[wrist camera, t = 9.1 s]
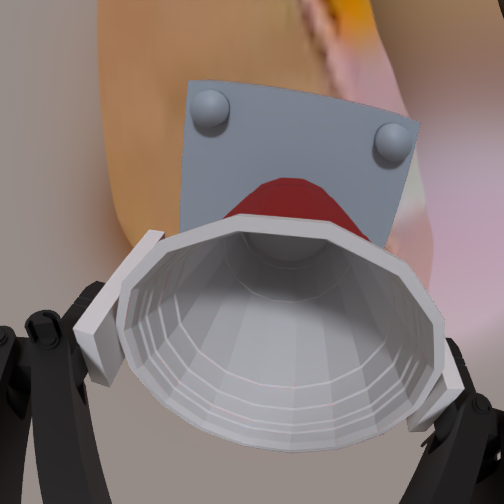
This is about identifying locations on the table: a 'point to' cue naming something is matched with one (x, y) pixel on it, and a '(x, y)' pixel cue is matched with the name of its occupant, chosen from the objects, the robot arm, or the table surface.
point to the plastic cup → (282, 325)
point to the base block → (291, 151)
